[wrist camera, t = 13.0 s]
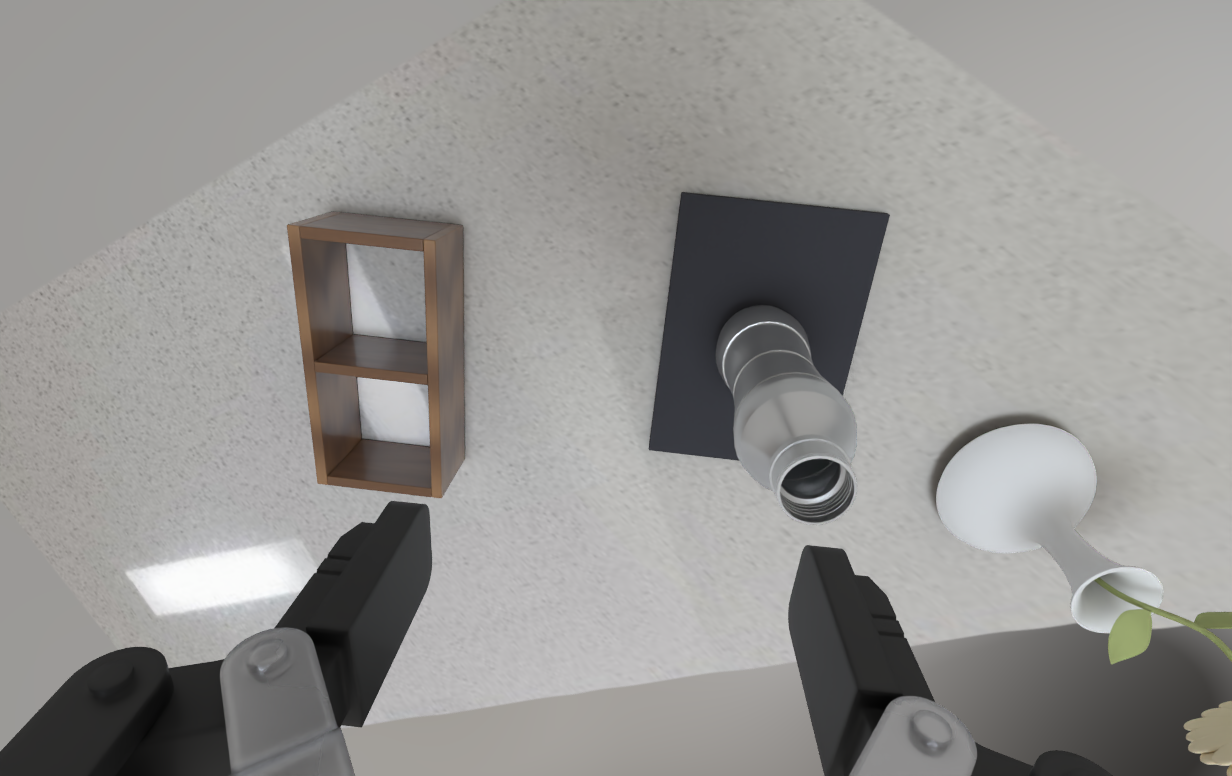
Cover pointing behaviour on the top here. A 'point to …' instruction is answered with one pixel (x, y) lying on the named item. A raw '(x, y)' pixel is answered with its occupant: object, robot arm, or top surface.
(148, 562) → the top surface
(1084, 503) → the flower in vase
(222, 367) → the top surface
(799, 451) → the plastic bottle
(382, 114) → the top surface
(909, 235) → the top surface
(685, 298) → the mat
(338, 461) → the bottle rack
